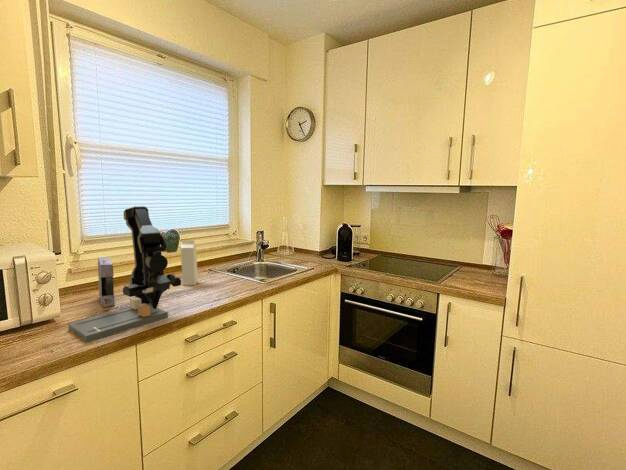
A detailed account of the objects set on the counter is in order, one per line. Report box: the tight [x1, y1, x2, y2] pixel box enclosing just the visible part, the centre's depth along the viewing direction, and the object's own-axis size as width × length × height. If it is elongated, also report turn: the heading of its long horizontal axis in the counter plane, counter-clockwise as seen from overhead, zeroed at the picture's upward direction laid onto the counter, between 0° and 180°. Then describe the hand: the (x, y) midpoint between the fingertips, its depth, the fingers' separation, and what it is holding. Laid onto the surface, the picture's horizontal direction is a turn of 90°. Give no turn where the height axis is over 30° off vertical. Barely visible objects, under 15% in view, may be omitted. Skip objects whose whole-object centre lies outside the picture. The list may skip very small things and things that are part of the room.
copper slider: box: [137, 303, 151, 317], centre depth 117 cm, size 4×2×4 cm, turn 52°
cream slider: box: [129, 296, 141, 310], centre depth 125 cm, size 4×2×4 cm, turn 52°
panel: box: [67, 303, 169, 343], centre depth 116 cm, size 16×26×2 cm, turn 142°
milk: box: [180, 240, 199, 286], centre depth 166 cm, size 6×6×22 cm
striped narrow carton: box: [97, 256, 116, 308], centre depth 139 cm, size 19×5×18 cm, turn 35°
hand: (154, 308), depth 121 cm, fingers closed
